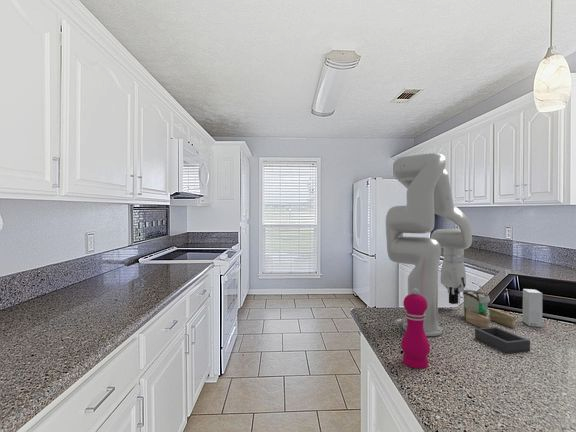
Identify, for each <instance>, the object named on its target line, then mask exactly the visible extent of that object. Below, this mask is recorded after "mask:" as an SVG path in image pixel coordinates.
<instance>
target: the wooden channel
mask: <svg viewBox="0 0 576 432" xmlns="http://www.w3.org/2000/svg"><path fill="white" fill-rule="evenodd" d="M488 310H489V312H488V313H489V315H488V316H487V317H485V316H483V315H480V314H478V313H475V312H472V311H470V310H466V317H465V322H467V323H469V324H472V325H474V326H476V327H477V328H488V327H491V321H493V322H495V323H497V324H498V323H499V324H501V325H504V326H506V327H509V328H511V329H516V316H515V315H513V314H510V313H507V312H505V311H501V310H498V309H495V308H491V307H490V308H489V309H488Z"/></svg>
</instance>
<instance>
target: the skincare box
mask: <svg viewBox="0 0 576 432" xmlns="http://www.w3.org/2000/svg"><path fill="white" fill-rule="evenodd" d="M522 322H524V323H525V324H526V325H527V326H528V327H537V328H538V327H539V328H542V327H543V292H540V291H539V290H537V289H532V288H530V289H529V288H523V289H522Z"/></svg>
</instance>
